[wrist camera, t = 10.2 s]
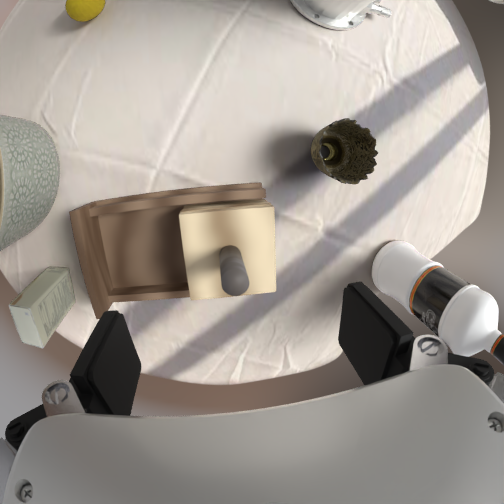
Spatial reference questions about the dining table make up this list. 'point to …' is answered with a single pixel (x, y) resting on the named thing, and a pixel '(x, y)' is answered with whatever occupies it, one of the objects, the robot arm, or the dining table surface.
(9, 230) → the planter
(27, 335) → the skincare box
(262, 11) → the dining table surface
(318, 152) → the olive hollow rounded container
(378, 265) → the vodka
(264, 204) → the drawer front with knob
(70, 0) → the lemon
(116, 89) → the dining table surface
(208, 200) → the bay
